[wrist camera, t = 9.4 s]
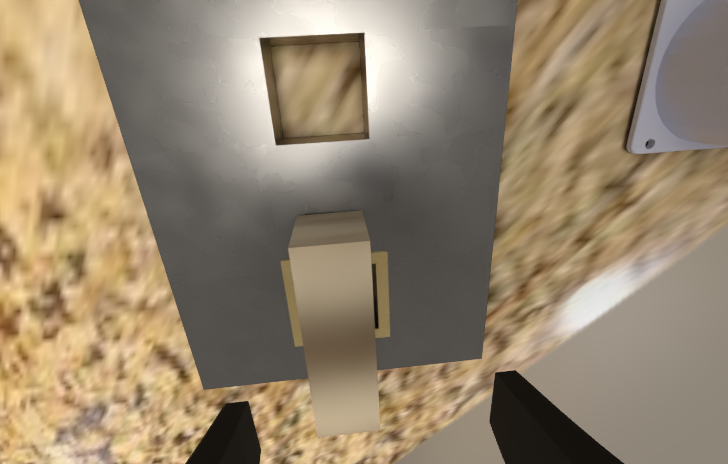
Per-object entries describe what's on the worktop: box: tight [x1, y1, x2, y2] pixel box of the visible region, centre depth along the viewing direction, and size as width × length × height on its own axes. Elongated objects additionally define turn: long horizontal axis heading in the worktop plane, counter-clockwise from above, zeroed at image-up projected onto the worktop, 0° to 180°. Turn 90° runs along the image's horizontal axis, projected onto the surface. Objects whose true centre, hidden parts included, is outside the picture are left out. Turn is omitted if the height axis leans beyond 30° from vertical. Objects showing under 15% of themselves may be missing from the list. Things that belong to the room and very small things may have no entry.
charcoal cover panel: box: [79, 0, 518, 390], centre depth 17 cm, size 16×20×3 cm
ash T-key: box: [288, 210, 380, 438], centre depth 17 cm, size 10×3×6 cm, turn 3°
